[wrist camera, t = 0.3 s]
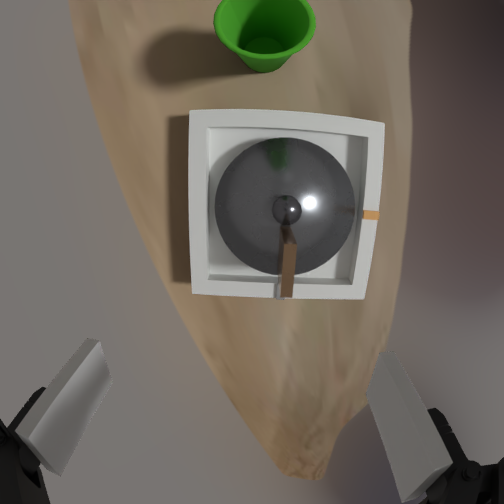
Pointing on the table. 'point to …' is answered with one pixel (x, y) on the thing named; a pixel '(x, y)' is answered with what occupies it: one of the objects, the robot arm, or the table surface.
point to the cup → (264, 30)
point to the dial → (284, 208)
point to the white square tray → (260, 129)
